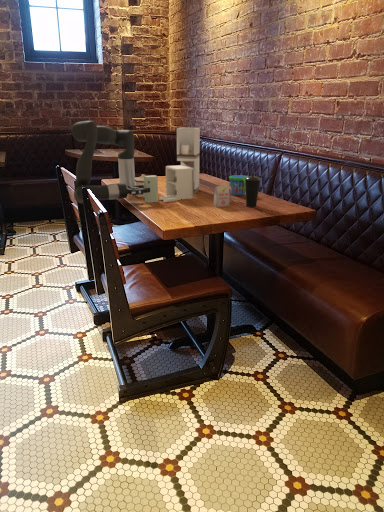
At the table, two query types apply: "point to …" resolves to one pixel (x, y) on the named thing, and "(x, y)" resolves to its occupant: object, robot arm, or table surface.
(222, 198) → the white milk carton
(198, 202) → the table surface
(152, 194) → the door
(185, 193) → the cabinet
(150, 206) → the table surface
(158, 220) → the table surface
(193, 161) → the display case
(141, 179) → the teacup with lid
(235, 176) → the snack cup
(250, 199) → the drinking cup
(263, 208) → the table surface
